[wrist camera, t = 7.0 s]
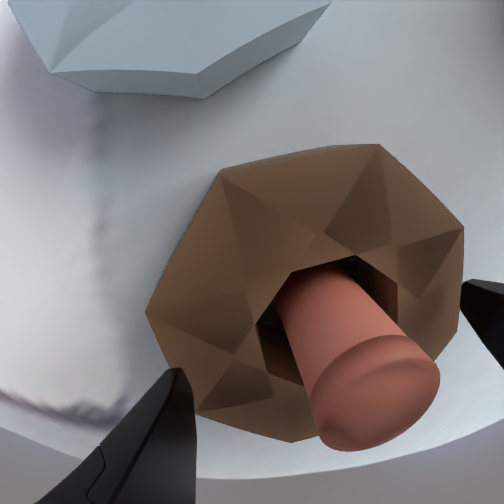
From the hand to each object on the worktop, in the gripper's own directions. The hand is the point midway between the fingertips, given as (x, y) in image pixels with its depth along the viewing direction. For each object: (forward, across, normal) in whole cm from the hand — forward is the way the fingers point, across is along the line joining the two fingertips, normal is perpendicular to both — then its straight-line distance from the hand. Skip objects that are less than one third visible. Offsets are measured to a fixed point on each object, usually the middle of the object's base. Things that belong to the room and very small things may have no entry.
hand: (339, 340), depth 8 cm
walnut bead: (+4, 0, 0) cm, 4 cm away
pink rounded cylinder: (+4, 0, 0) cm, 4 cm away
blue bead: (+4, +2, -13) cm, 14 cm away
